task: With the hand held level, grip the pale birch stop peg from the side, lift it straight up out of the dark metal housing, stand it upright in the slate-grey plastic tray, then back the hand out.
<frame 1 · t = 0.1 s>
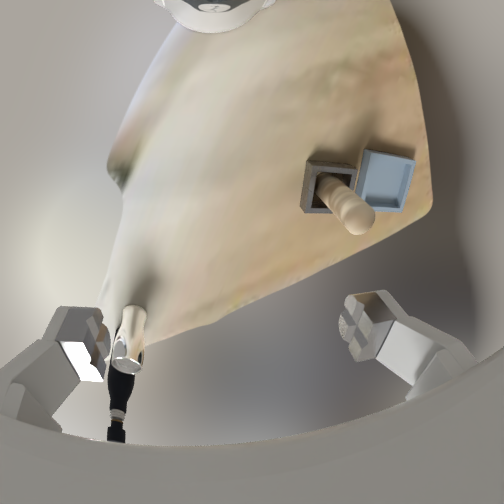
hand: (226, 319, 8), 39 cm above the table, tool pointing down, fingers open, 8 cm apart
black chrome pepper mill: (127, 333, 64), on the table
tray: (381, 180, 50), on the table
metal housing: (325, 184, 49), on the table
stop peg: (341, 200, 44), in the metal housing
beer glass: (134, 312, 60), on the table
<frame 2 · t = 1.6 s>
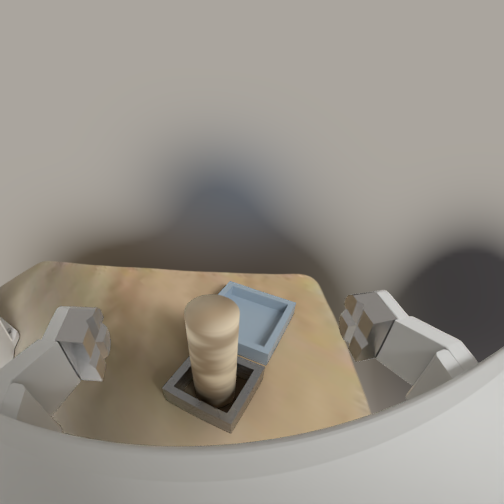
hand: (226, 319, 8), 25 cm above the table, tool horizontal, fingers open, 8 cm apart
tray: (245, 324, 42), on the table
metal housing: (215, 391, 31), on the table
stop peg: (213, 359, 28), in the metal housing
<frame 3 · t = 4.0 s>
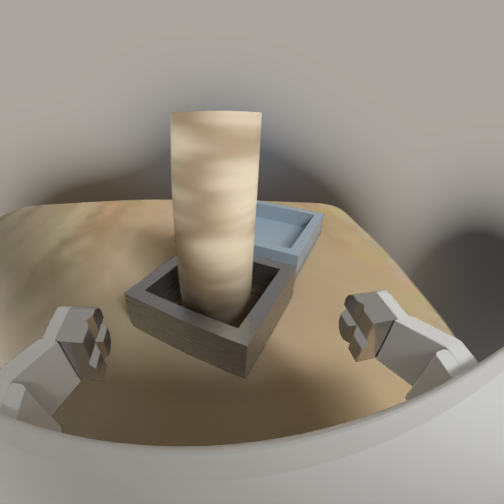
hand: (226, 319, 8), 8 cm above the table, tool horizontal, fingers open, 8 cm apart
tray: (259, 239, 31), on the table
metal housing: (216, 312, 20), on the table
stop peg: (214, 226, 17), in the metal housing
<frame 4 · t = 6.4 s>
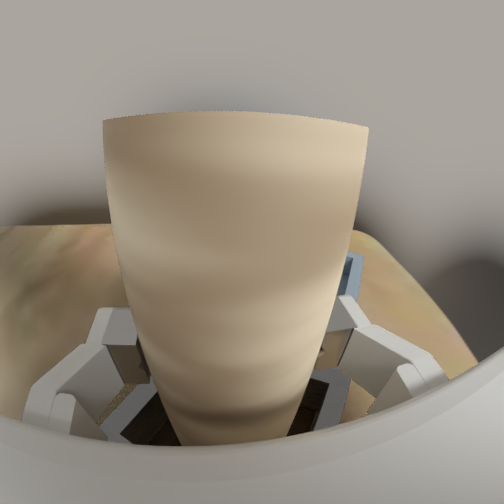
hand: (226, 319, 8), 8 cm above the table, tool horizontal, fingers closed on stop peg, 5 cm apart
tray: (281, 295, 23), on the table
metal housing: (231, 439, 12), on the table
stop peg: (230, 361, 8), in the metal housing, touching gripper
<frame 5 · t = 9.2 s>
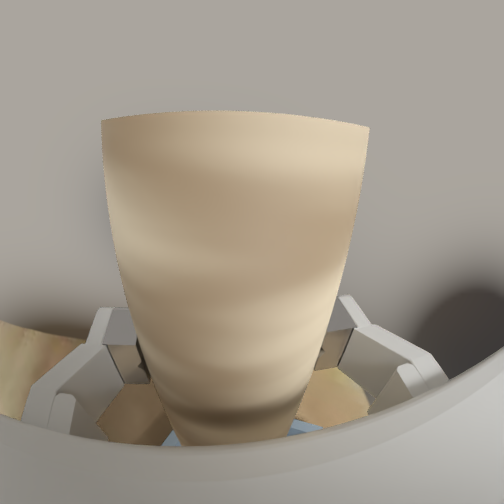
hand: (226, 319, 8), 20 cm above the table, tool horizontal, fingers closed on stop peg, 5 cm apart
tray: (234, 466, 19), on the table
stop peg: (230, 362, 8), point 19 cm above the table, touching gripper
when the fingers open (10 cm above the table, at t = 12.2 s): stop peg drops 1 cm, resting on tray.
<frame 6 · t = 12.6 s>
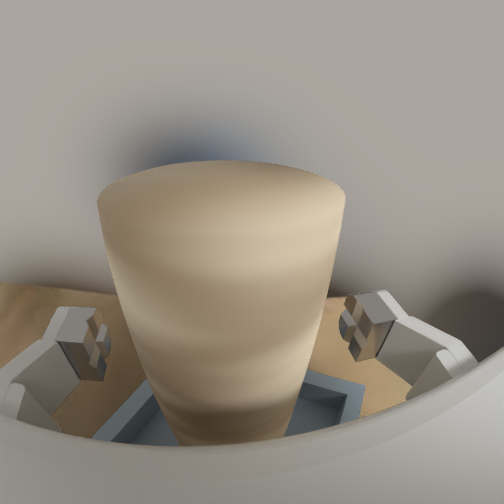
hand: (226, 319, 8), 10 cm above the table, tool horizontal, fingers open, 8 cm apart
tray: (231, 451, 13), on the table
stop peg: (226, 385, 9), in the tray, point 8 cm above the table
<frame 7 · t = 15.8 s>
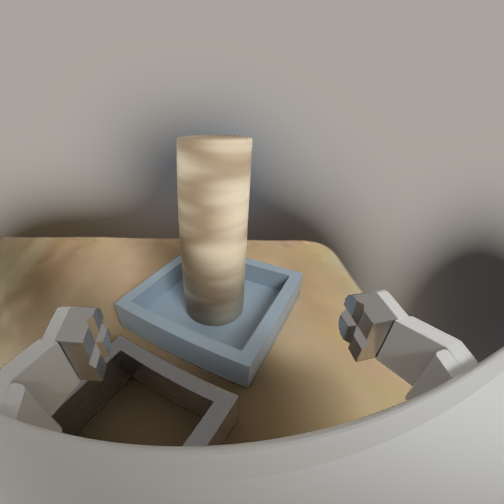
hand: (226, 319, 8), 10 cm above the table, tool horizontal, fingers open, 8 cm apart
tray: (214, 311, 24), on the table
metal housing: (139, 436, 13), on the table
stop peg: (213, 233, 20), in the tray, point 8 cm above the table
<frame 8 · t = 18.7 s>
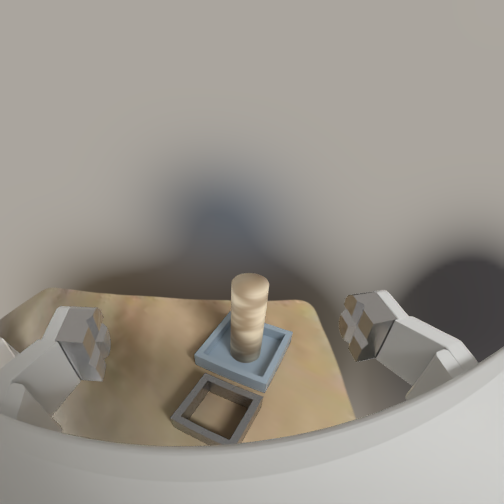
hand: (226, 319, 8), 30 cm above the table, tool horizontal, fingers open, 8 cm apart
tray: (245, 353, 44), on the table
metal housing: (218, 418, 33), on the table
stop peg: (247, 321, 40), in the tray, point 8 cm above the table
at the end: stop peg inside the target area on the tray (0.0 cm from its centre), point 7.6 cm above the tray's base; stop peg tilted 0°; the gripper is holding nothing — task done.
